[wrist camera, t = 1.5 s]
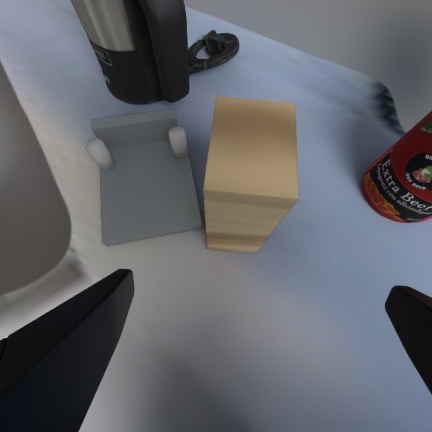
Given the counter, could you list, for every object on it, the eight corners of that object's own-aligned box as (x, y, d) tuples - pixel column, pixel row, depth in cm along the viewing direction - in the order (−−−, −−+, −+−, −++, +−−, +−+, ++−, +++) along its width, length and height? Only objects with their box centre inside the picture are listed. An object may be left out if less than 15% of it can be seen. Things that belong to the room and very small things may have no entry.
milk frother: (91, 85, 30) (-13, -109, 16) (165, 21, 35) (136, -168, 21) (183, 135, 27) (156, -44, 13) (249, 58, 32) (278, -129, 18)
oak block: (254, 254, 22) (298, 198, 11) (207, 249, 22) (203, 189, 11) (257, 197, 24) (295, 103, 13) (214, 193, 24) (216, 96, 13)
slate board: (202, 227, 23) (201, 212, 19) (106, 245, 22) (85, 233, 18) (184, 135, 27) (180, 107, 23) (103, 147, 26) (85, 120, 22)
